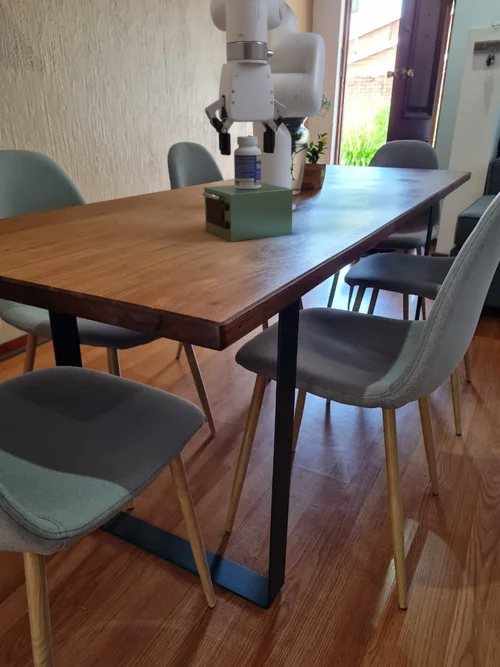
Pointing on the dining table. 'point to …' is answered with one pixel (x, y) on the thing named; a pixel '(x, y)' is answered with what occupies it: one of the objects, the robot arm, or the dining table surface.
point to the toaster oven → (248, 211)
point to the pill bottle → (247, 163)
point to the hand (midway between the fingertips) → (247, 154)
